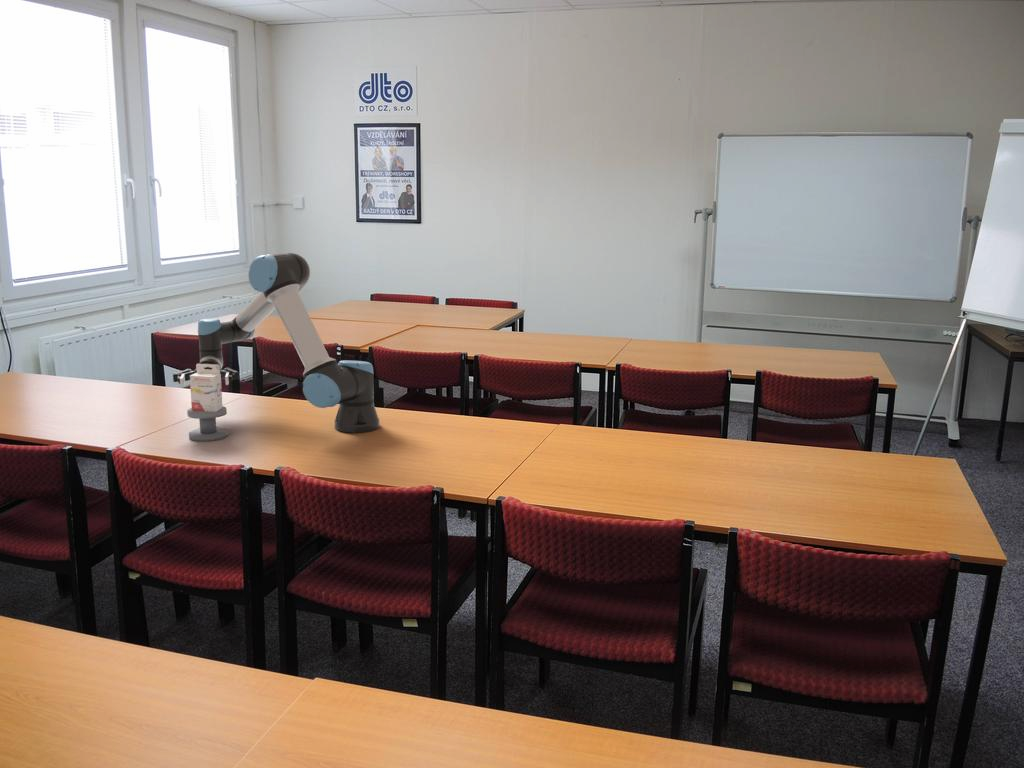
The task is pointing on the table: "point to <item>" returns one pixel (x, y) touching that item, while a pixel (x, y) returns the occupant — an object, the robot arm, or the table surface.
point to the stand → (207, 425)
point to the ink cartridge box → (206, 388)
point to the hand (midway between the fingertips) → (204, 381)
